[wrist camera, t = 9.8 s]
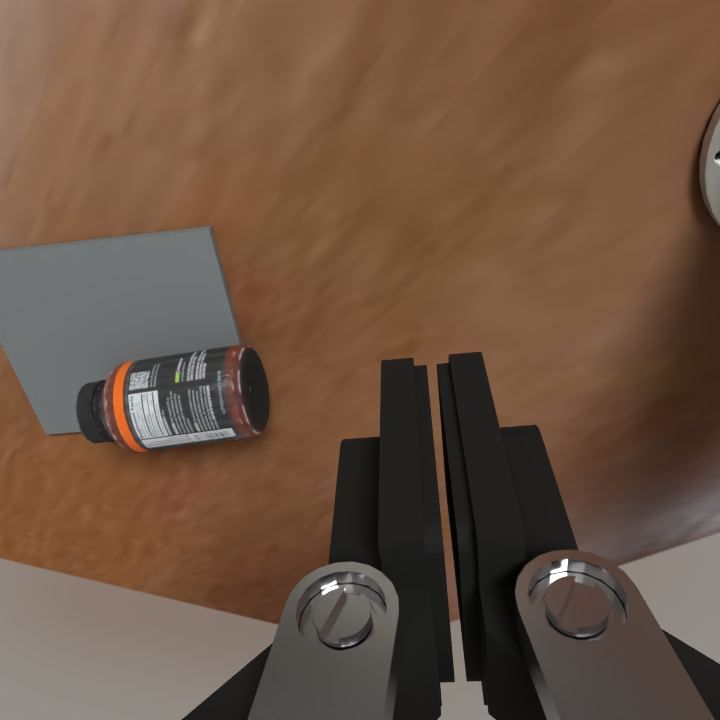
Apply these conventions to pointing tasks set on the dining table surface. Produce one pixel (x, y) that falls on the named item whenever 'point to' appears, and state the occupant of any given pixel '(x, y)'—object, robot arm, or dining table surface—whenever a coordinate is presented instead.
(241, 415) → the supplement bottle
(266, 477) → the dining table surface
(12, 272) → the mat
